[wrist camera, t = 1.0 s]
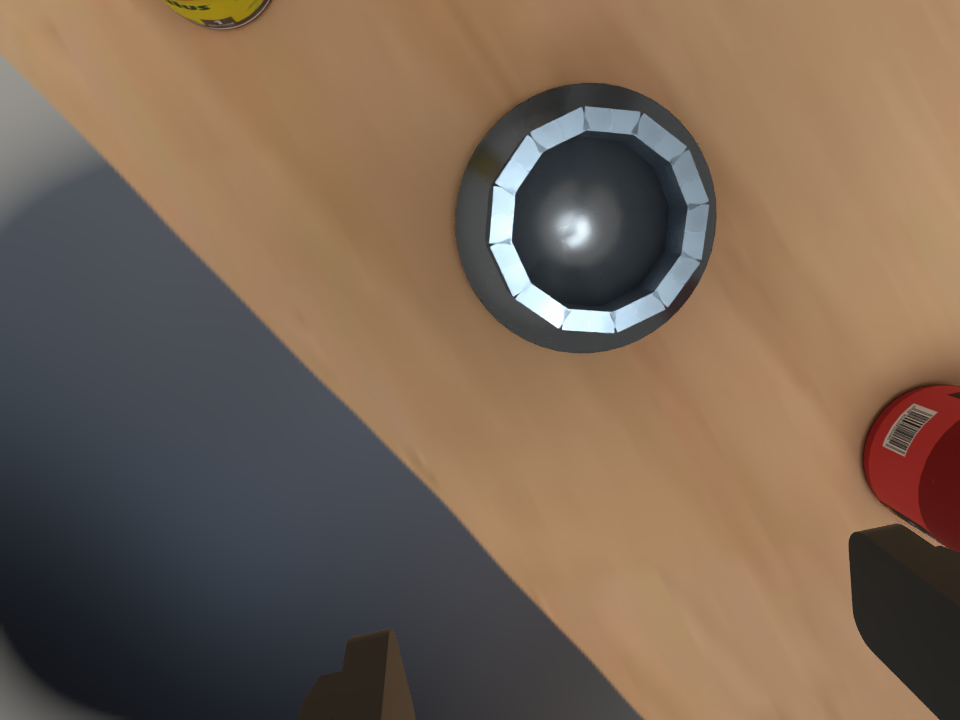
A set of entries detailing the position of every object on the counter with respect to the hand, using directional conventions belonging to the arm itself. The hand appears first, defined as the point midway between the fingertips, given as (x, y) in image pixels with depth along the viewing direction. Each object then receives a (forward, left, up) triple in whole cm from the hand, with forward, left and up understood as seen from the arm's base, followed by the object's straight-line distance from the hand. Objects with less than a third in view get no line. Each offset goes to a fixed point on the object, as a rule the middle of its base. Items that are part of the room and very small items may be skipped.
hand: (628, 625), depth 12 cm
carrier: (-7, +4, -24) cm, 26 cm away
